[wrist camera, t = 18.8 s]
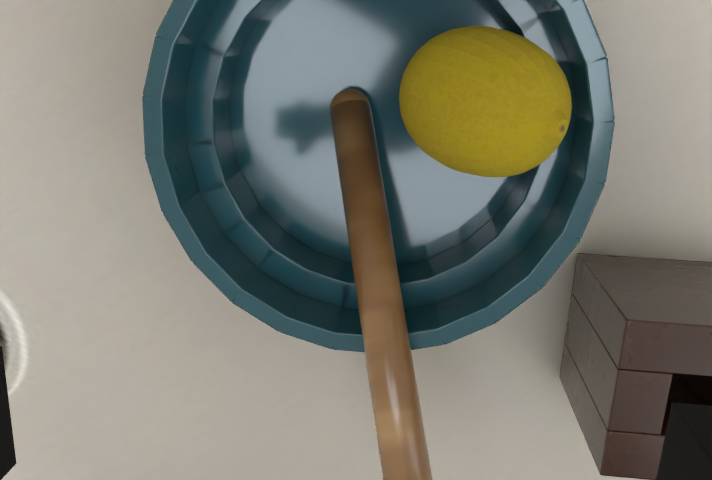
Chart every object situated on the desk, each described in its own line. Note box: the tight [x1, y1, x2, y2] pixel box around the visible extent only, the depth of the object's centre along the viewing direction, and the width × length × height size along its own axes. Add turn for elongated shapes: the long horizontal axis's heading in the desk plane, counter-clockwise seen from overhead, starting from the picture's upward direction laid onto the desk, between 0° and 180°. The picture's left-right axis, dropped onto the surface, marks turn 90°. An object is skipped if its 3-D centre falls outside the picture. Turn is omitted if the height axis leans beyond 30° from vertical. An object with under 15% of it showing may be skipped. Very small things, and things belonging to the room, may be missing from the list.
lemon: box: [399, 26, 572, 177], centre depth 26 cm, size 6×6×8 cm
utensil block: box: [560, 253, 712, 480], centre depth 29 cm, size 7×7×8 cm
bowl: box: [142, 0, 615, 352], centre depth 29 cm, size 18×18×6 cm
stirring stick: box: [330, 89, 432, 480], centre depth 27 cm, size 2×2×20 cm
